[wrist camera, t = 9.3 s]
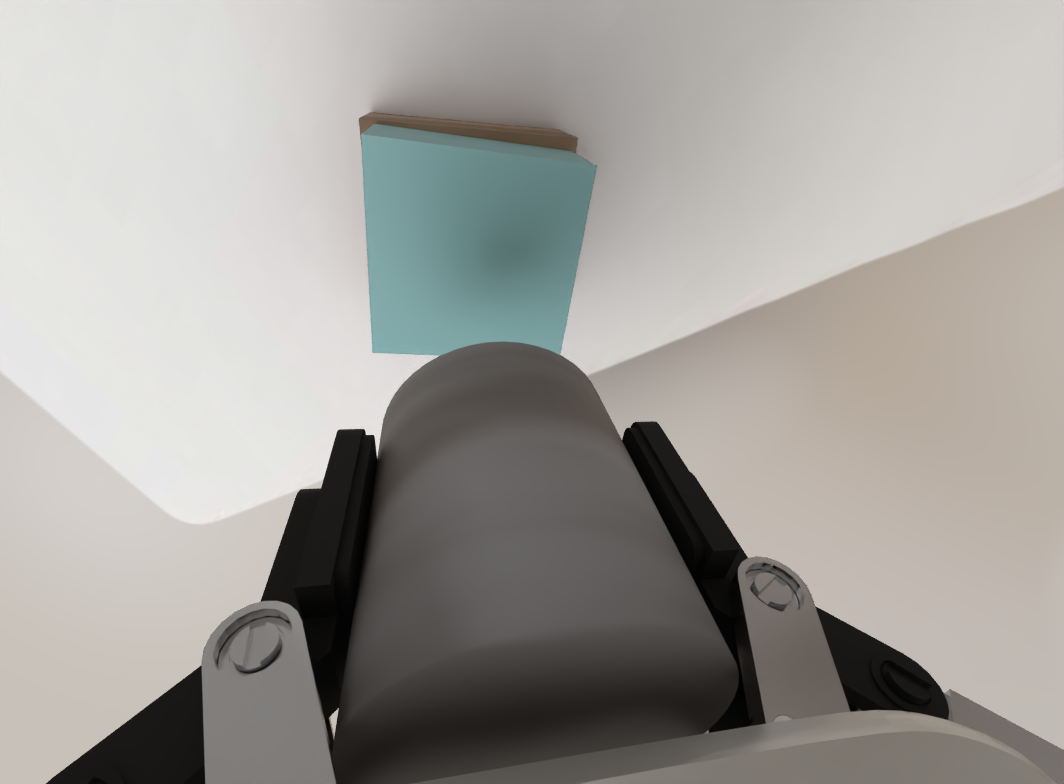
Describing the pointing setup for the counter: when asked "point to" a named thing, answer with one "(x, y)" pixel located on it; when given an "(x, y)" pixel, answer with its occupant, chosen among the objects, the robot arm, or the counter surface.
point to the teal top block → (470, 239)
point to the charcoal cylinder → (516, 584)
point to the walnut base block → (476, 130)
